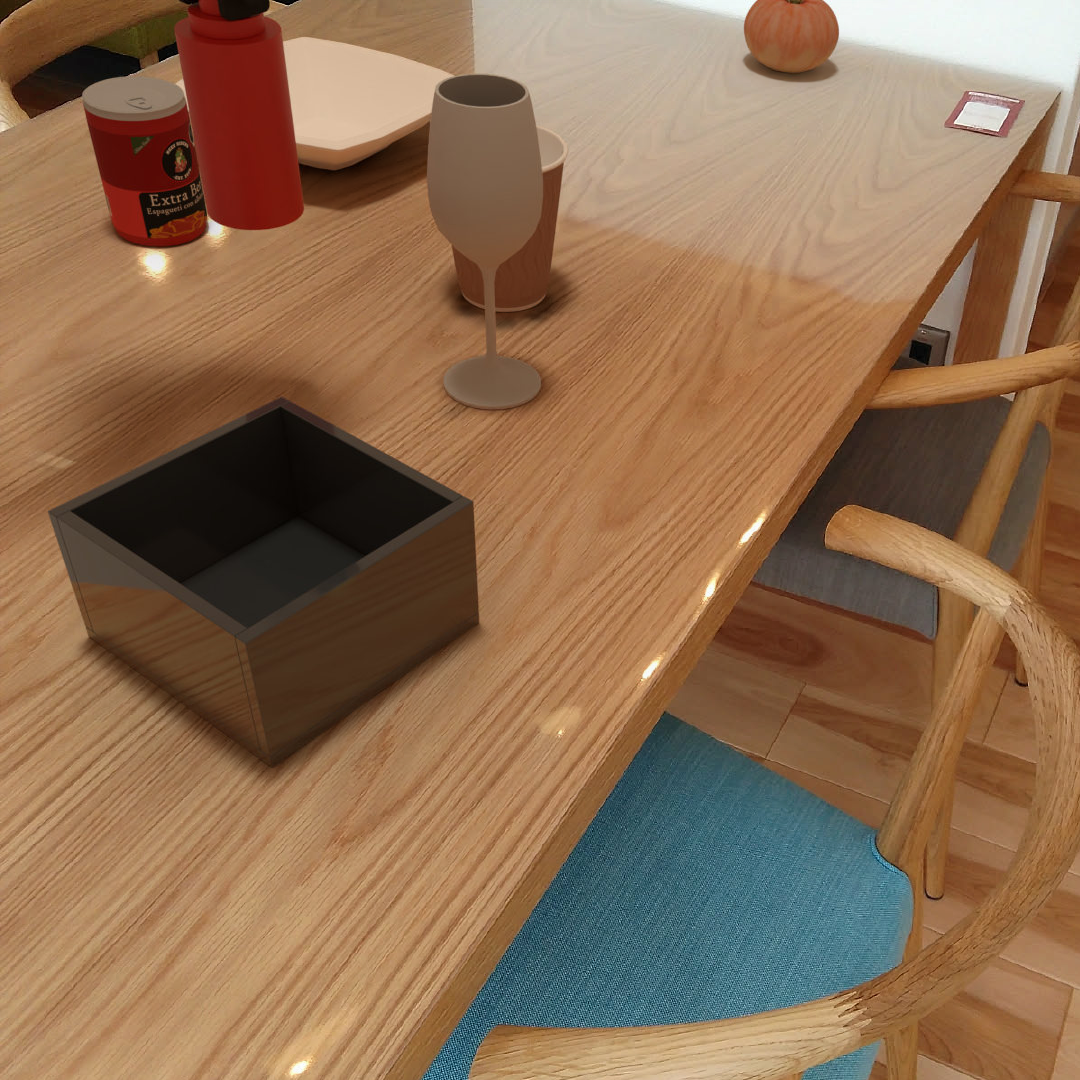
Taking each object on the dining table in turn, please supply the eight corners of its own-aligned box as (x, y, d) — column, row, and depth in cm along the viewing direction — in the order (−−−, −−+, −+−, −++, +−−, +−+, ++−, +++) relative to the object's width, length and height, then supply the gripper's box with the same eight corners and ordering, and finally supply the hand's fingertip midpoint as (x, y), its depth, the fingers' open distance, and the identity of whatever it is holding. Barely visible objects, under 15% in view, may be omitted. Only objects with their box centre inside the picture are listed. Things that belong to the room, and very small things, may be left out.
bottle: (187, 209, 84) (127, -105, 71) (260, 182, 87) (215, -120, 75) (251, 239, 81) (201, -79, 69) (324, 210, 85) (288, -97, 73)
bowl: (494, 140, 129) (492, 80, 125) (345, 224, 114) (338, 158, 110) (312, 87, 136) (304, 28, 132) (147, 159, 120) (134, 95, 116)
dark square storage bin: (88, 636, 74) (46, 510, 68) (301, 515, 84) (281, 395, 78) (272, 768, 68) (245, 643, 62) (479, 622, 78) (473, 501, 72)
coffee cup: (587, 281, 110) (590, 137, 101) (531, 335, 102) (529, 184, 94) (478, 252, 112) (473, 108, 104) (416, 302, 105) (404, 153, 96)
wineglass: (565, 384, 98) (567, 93, 83) (491, 423, 93) (480, 123, 79) (493, 346, 101) (483, 60, 86) (419, 382, 96) (395, 86, 82)
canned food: (160, 257, 107) (130, 120, 99) (92, 229, 110) (57, 93, 102) (230, 225, 112) (206, 93, 104) (163, 199, 114) (135, 68, 107)
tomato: (741, 46, 155) (748, -28, 149) (831, 55, 155) (842, -18, 149) (739, 79, 147) (747, 2, 141) (835, 88, 147) (846, 11, 142)
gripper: (-13, -426, 64) (79, -15, 77) (212, -378, 58) (271, 60, 71) (118, -426, 68) (183, -39, 81) (339, -382, 62) (372, 30, 75)
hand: (224, 3), depth 76 cm, fingers closed on bottle, 2 cm apart
